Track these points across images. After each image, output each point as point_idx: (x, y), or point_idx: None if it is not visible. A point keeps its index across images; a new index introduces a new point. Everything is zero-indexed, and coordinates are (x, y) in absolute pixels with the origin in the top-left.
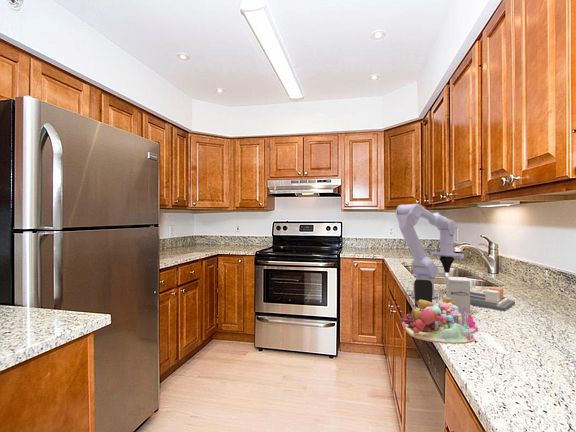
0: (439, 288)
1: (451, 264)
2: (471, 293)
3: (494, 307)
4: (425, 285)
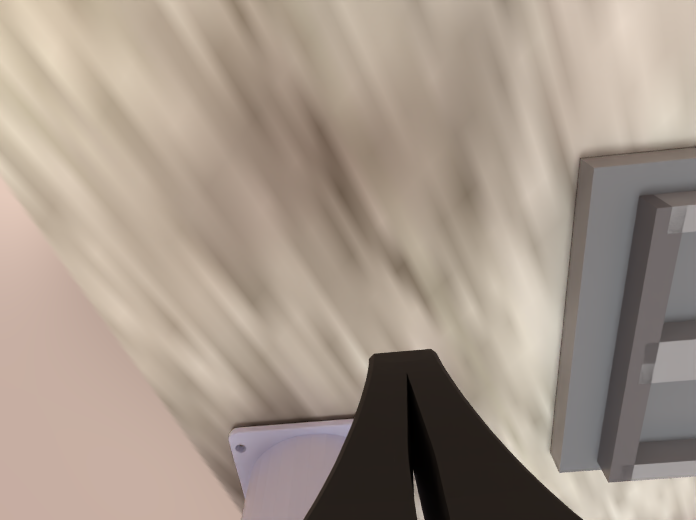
0: (162, 33)
1: (533, 478)
2: (689, 223)
3: None
4: None
